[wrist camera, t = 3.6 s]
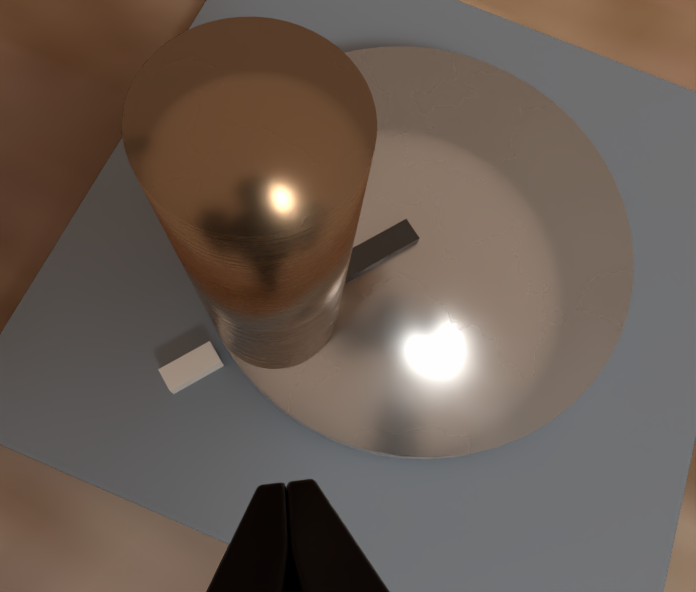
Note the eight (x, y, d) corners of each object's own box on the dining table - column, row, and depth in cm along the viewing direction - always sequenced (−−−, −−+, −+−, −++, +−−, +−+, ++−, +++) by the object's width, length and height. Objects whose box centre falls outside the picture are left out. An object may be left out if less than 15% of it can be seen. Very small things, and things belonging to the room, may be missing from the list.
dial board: (616, 708, 17) (648, 730, 15) (-35, 424, 17) (-67, 419, 16) (742, 132, 23) (774, 107, 21) (256, -55, 24) (253, -92, 22)
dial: (462, 16, 22) (593, -363, 12) (696, 316, 19) (1116, 135, 9) (126, 173, 19) (-56, -160, 9) (343, 554, 16) (411, 658, 6)
